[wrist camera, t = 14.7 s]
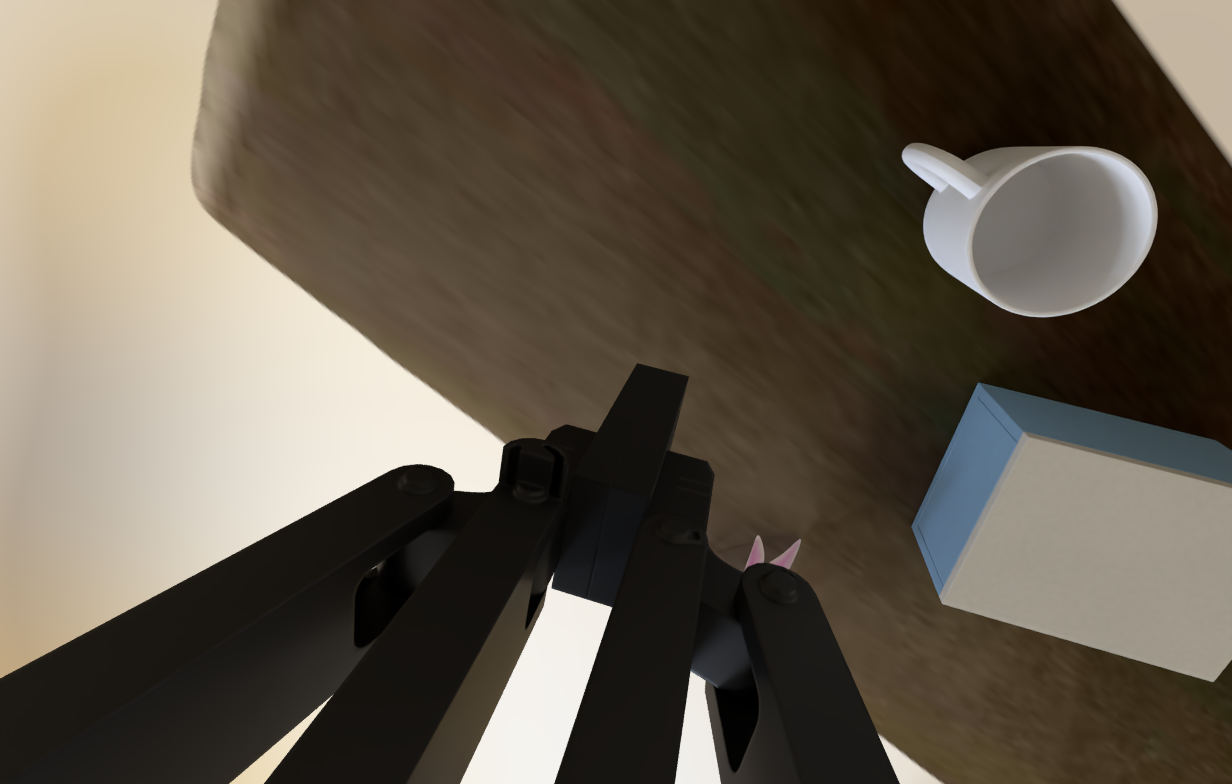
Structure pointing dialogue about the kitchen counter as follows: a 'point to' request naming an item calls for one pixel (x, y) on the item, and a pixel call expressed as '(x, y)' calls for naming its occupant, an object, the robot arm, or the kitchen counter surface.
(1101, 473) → the case lid
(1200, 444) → the case
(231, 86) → the kitchen counter surface
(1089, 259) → the cup
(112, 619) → the robot arm
